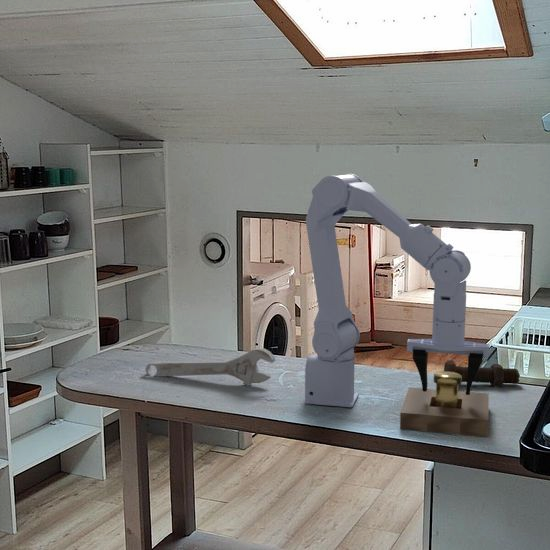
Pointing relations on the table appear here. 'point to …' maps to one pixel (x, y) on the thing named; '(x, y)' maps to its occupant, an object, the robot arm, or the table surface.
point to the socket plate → (445, 413)
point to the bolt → (486, 374)
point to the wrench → (219, 367)
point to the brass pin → (447, 389)
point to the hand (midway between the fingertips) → (446, 391)
